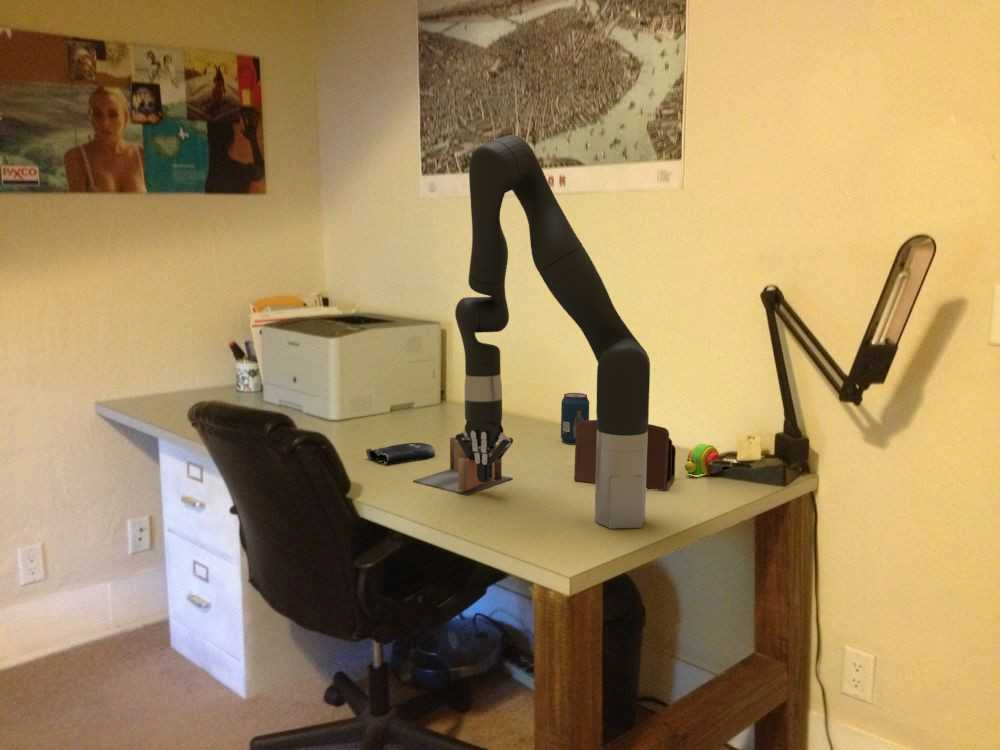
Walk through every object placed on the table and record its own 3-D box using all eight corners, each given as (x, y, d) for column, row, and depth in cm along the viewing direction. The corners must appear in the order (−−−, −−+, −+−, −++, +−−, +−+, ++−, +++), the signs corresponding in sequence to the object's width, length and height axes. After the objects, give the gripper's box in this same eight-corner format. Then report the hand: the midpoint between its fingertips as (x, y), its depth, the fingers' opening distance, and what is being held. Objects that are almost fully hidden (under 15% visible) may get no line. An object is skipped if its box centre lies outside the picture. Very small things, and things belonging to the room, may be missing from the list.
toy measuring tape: (674, 475, 199) (675, 446, 198) (727, 460, 212) (729, 433, 211) (698, 481, 195) (699, 451, 194) (751, 466, 207) (752, 438, 206)
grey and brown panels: (512, 479, 195) (513, 445, 194) (466, 495, 184) (466, 459, 183) (458, 466, 205) (458, 434, 204) (411, 481, 193) (411, 447, 192)
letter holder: (666, 492, 187) (668, 425, 185) (573, 482, 194) (574, 417, 192) (675, 479, 196) (677, 415, 194) (586, 470, 203) (587, 408, 201)
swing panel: (489, 477, 194) (489, 447, 193) (495, 478, 193) (495, 448, 192) (456, 490, 185) (456, 459, 184) (463, 491, 184) (463, 460, 183)
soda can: (573, 437, 234) (574, 391, 232) (594, 441, 229) (595, 394, 227) (555, 441, 229) (555, 394, 227) (576, 446, 224) (577, 398, 222)
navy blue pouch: (390, 474, 205) (443, 455, 214) (385, 451, 204) (438, 432, 213) (368, 471, 212) (420, 452, 221) (363, 448, 211) (415, 430, 220)
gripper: (521, 396, 182) (522, 481, 184) (466, 392, 189) (468, 473, 191) (501, 402, 176) (502, 489, 178) (445, 397, 183) (447, 481, 185)
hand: (484, 481), depth 185 cm, fingers closed
